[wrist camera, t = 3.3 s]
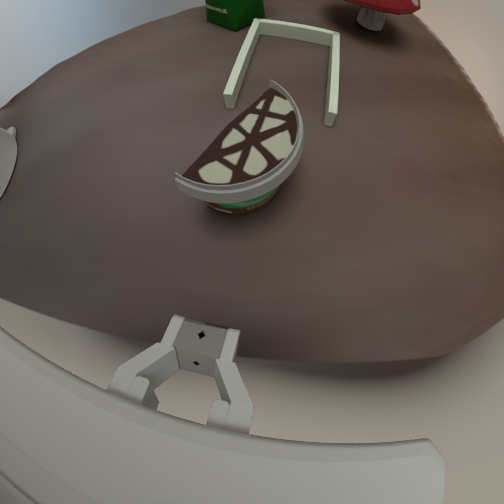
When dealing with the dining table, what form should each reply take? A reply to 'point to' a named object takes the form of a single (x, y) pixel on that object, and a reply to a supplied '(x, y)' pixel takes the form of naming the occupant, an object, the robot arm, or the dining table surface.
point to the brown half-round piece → (248, 156)
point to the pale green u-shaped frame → (290, 32)
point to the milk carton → (234, 12)
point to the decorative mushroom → (382, 11)
